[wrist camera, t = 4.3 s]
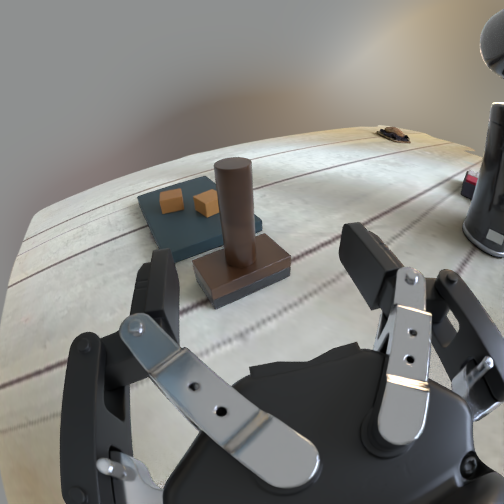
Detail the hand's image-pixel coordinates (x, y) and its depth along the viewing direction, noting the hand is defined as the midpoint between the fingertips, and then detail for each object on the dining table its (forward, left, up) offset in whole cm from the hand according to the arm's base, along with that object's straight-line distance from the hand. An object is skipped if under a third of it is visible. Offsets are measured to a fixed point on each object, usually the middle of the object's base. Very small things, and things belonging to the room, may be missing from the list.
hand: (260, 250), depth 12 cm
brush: (-3, -9, -11) cm, 14 cm away
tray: (-3, -24, -11) cm, 27 cm away
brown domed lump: (-75, -39, -11) cm, 86 cm away
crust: (-1, -25, -9) cm, 27 cm away
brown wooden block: (-5, -21, -9) cm, 24 cm away
